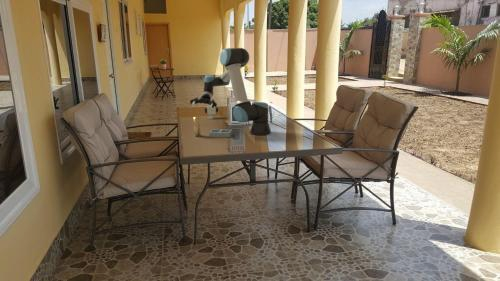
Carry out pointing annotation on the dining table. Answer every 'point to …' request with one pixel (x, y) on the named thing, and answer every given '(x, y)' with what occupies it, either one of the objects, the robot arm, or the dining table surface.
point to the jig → (220, 133)
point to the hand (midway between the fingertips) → (201, 107)
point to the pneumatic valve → (211, 111)
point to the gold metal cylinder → (196, 126)
